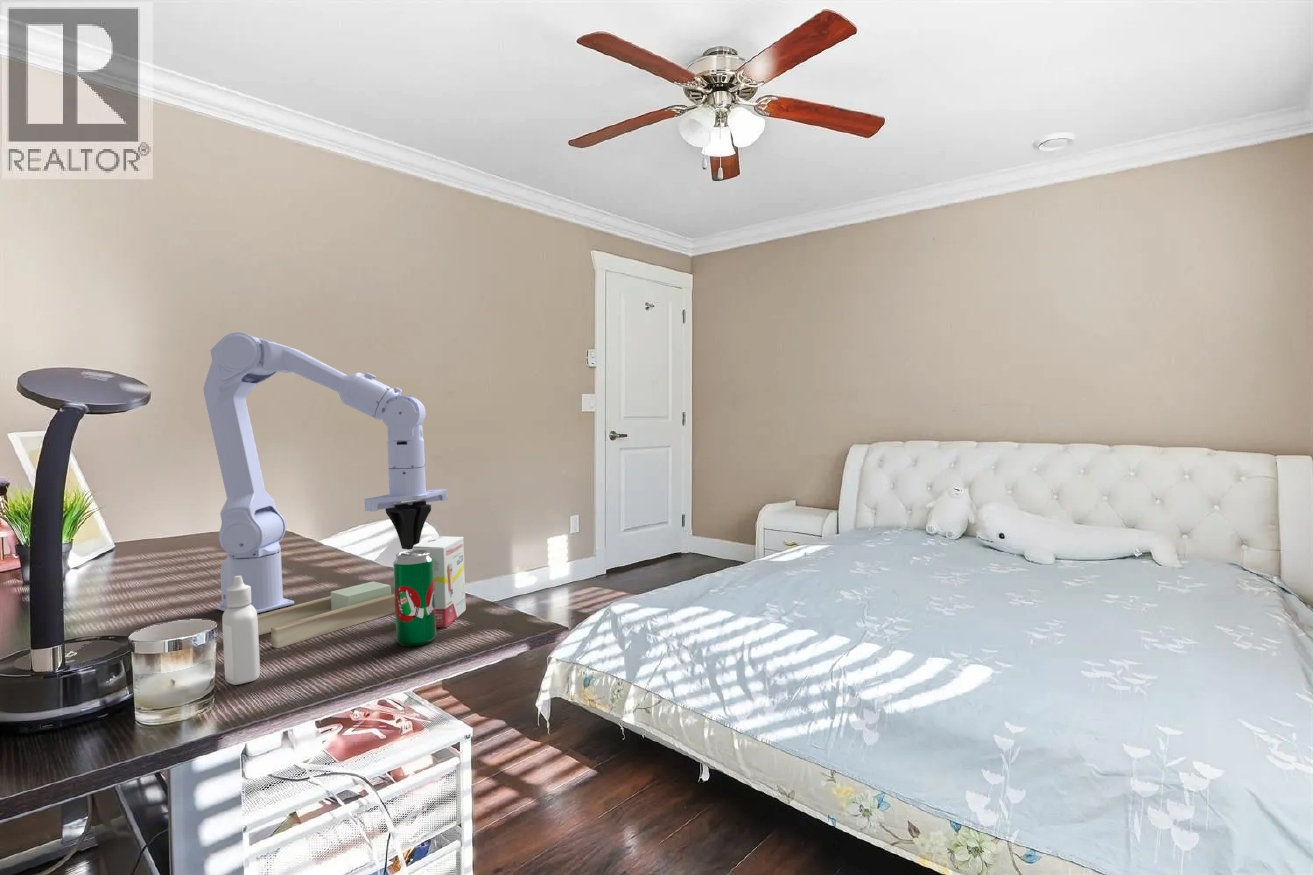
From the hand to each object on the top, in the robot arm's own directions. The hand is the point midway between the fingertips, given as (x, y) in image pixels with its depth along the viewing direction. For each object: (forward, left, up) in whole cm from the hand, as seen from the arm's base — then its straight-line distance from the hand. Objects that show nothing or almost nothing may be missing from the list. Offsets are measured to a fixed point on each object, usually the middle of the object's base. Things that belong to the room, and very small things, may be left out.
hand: (410, 548), depth 107 cm
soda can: (+19, -13, -9) cm, 25 cm away
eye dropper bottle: (+11, -31, -9) cm, 34 cm away
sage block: (0, -9, -9) cm, 12 cm away
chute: (0, -14, -8) cm, 16 cm away
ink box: (+14, -5, -9) cm, 17 cm away
